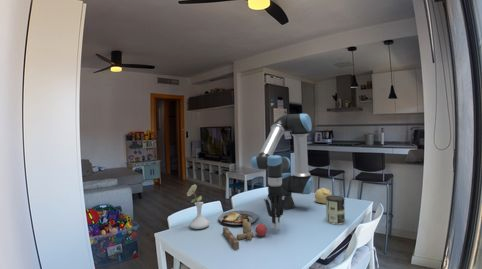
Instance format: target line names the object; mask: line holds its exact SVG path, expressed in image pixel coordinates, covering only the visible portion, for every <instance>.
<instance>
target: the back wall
mask: <svg viewBox="0 0 482 269" xmlns="http://www.w3.org/2000/svg"><path fill="white" fill-rule="evenodd" d="M222 234H223V236H224V237H225V239H226V240H227V241H228V242H229V244H230V245H231V247H232V248H233V250H234V251H236V250H237V251H238V250H239V249H240V241H239V240H237V237H235V236H236V235H234V234H233V232H232V231H231V230H230V228H228V227H227V226H222Z"/></svg>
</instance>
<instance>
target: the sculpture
mask: <svg viewBox="0 0 482 269" xmlns="http://www.w3.org/2000/svg"><path fill="white" fill-rule="evenodd" d="M331 195H333V193H332V191H331V190H330V189H328V188H327V187H326V188H325V187H321V188H319V189H317V190H316V191H315V193H314V198H315V201H316V203H319V204H324V205H326V196H331Z"/></svg>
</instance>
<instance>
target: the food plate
mask: <svg viewBox="0 0 482 269" xmlns="http://www.w3.org/2000/svg"><path fill="white" fill-rule="evenodd" d="M259 217H260V216H259V214H257V213H256V212H253V211H249V210H231V211H227V212H222V214H221V215H219V217H218V218H217V219H218V221H219V222H220V223H223V224H226V225H232V226H240V225H242V226H243V219H247V222H251V224H253V223H254V222H256V221H257V220H258V218H259ZM250 219H251V220H250Z"/></svg>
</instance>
